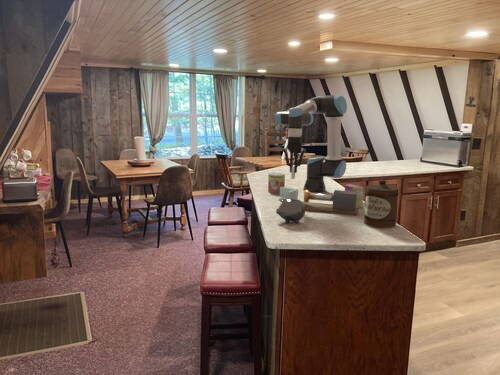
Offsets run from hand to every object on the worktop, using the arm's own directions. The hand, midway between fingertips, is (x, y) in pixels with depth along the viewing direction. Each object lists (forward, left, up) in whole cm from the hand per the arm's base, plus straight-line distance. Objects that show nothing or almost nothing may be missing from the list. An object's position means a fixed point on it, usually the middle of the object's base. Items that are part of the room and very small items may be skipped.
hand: (293, 178), depth 218 cm
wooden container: (+21, +47, -17) cm, 54 cm away
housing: (0, +29, -15) cm, 33 cm away
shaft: (0, +18, -13) cm, 22 cm away
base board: (0, +17, -16) cm, 24 cm away
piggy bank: (+33, +6, -17) cm, 37 cm away
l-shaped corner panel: (-14, -7, -17) cm, 23 cm away
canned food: (-40, -19, -17) cm, 48 cm away
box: (-15, +33, -17) cm, 40 cm away
